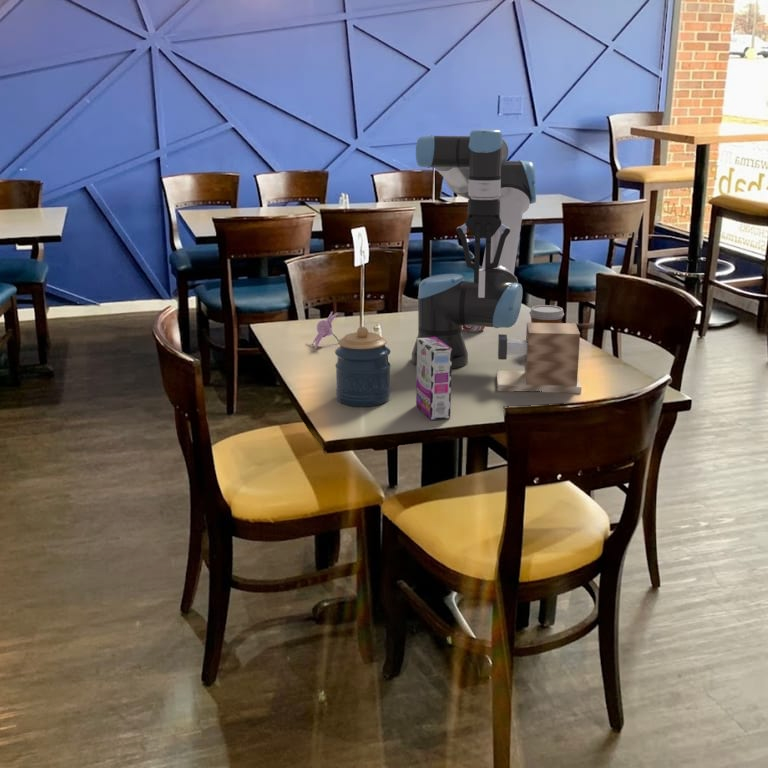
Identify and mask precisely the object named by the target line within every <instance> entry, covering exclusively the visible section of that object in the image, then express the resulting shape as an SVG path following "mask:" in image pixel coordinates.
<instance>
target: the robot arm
mask: <svg viewBox="0 0 768 768" xmlns="http://www.w3.org/2000/svg"><path fill="white" fill-rule="evenodd" d="M509 153H510V149H509V145H508V143H507V141H506V140H505V139H504V138H503V133H502V131H501V130H499V129H495V128H494V129H487V128H486V129H482V128H481V129H473V130H471V131H470V133H469V135H465V136H464V135H460V136H457V135H455V136H454V135H453V136H452V135H433V134H431V135H421V136H419V138H418V139H417V141H416V145H415V160H416V164H417V165H418V166H419V167H421V168H427V169H430V168H434V169H435V170H436V171H437V172H438V173H439V174H440V175H441V176H442V177H443V178H444V182H445V184H446V185H447V187H448V189H450V190H451V191H452V192H453V193H455V194H456V195H458V196H460V197H462V198H465V199H466V200H467V217H466V219H465V223H463V224H462V225H460V226H457V227H456V233H457V234H458V236H459V238H460V240H461V241H460V242H461V246H462V249H463V250H462V251H463V254H464V259H465V263H466V267H467V268H469V269H472V270H473V281H470V280H465V279H464V276H463V275H462V274H458V273H445V274H438V275H433V276H428V277H426V278H424V279H422V280H421V281H420V282H419V285H418V296H417V299H418V302H417V303H418V308H417V309H418V311H417V312H418V315H417V316H418V317H417V319H418V324H417V327H418V329H417V330H418V331H417V332H418V333H417V336H416V340H415V342H414V345H413V348H412V352H411V363H412V364H413V365H415V366H417V338H426V337H437V338H438V339H439V340H441V341H442V342H443V343H445V344H446V345H448V346H449V347H450V348H452V369H456V368H461V367H464V366H466V365H467V364H468V362H469V355H468V349H467V346H466V342H465V341H464V336H463V328H462V325H465V326H481V327H486V328H494V329H500V328H501V329H502V328H504V329H505V328H511V327H513V326H514V325H515V324H516V322H517V321H518V319H519V315H520V312H521V308H522V301H523V293H524V292H523V286H522V284H521V283H519V281H518V277H517V276H516V275H515V268H516V267H515V266H516V261H517V254H518V247H519V242H520V241H519V240H520V236H521V235H520V234H521V228H522V223H523V222H522V221H523V216H524V215H523V214H524V213H526V212H527V211H528V209H530V208H529V207H530V205H531V204H536V202H537V186H536V168H535V164H534V163H533V162H532V161H529V160H521V159H519V160H507V159H508V156H509ZM467 229H468V230H469V232H470V234H472V236H473V237H474V257H473V258H474V261H472V258H471V253H470V249H469V244H468V239H467V235H466V234H467V232H468V230H467ZM481 238H485V248H484V252H483V253H484V254H483V261H482V265H481V268H480V255H481V254H480V253H481Z"/></svg>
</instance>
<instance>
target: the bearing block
mask: <svg viewBox="0 0 768 768" xmlns="http://www.w3.org/2000/svg"><path fill="white" fill-rule="evenodd" d="M525 334H526V335H525V336H526V337H525V340H528V350H527V355H524V356H525V359H524V361H525V362H524V370H523V371H522V370H496V385H497V387H498V388H497V387H496V388H497V391H498V392H513V391H540V392H539V393H559V394H560V393H562V394H564V393H565V394H566V393H567V394H582V385H581V382H580V379H579V376H578V375H579V373H578V371H579V356H580V342H581V341H580V340H581V332H580V331H579V328H578V326H577V324H576V323H575V322H574V323H568V322H565V323H564V322H561V323H531V322H526V333H525ZM541 391H542V392H541Z"/></svg>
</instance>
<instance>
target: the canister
mask: <svg viewBox="0 0 768 768" xmlns="http://www.w3.org/2000/svg"><path fill="white" fill-rule="evenodd" d="M338 340H339V342H338V341H337V343H338V345H339V347H337V348H335V351H334V353H335V356H336V357H337V362H336V363H335V369H336V372H335V374H336V375H335V377H336V388H335V394H336V398H337V401H338V402H340V403H341V404H343V405H346V406H351V407H361V408H362V407H374V406H379V405H381V404H385V403H386V402H388V401H389V399H390V395H391V390H392V389H391V387H390V385H391V384H390V383H391V381H390V379H391V376H390V375H391V373H390V372H391V371H390V368H391V362H390V361H389V355H390V354H391V349H390V348H389V347H387V346H386V345H387V343H388V341H387V339H386V338H384V337H382V336H381V335H380V334H378V333H375V332H370V331H369V330H368V328H367V327H366V326H359V327H358V328H357V330H356V332H351V333H348V334H345V335H344V336H343V337H342V338H340V339H338Z"/></svg>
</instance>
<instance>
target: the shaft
mask: <svg viewBox="0 0 768 768" xmlns="http://www.w3.org/2000/svg"><path fill="white" fill-rule="evenodd" d="M497 340H498V342H497V359H498V360H506V361H507V357H508V356H507V355H512V356H525V355H527V350H528V340H526V339H508V335H507V334H502V333H501V334H498V338H497Z"/></svg>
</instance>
